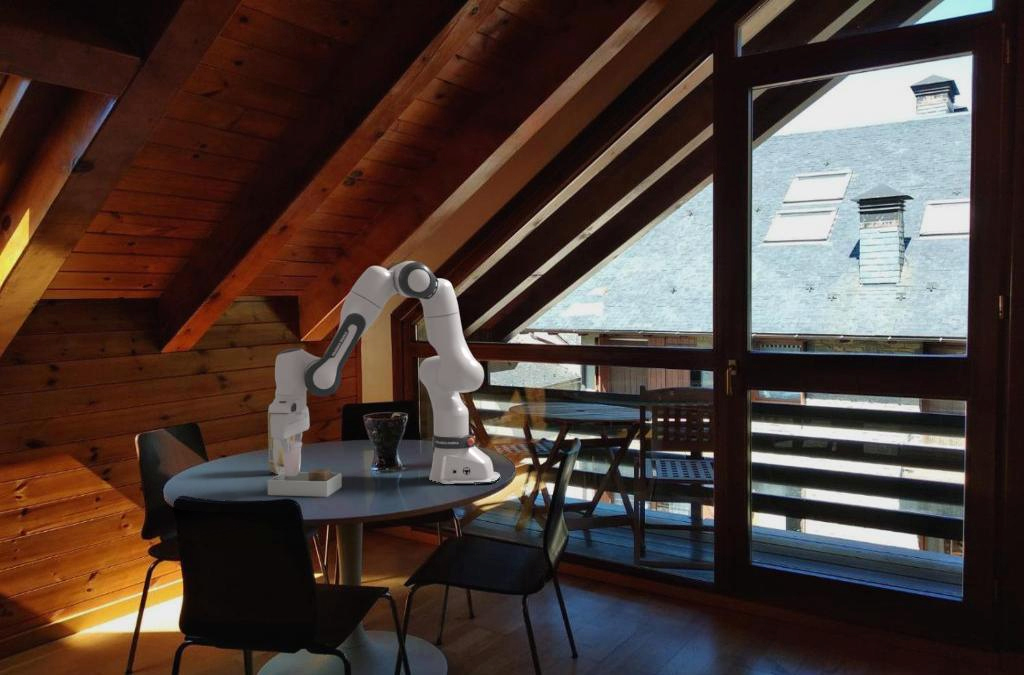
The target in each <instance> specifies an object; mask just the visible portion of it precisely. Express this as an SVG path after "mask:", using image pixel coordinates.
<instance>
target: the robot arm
mask: <svg viewBox="0 0 1024 675" xmlns="http://www.w3.org/2000/svg"><path fill="white" fill-rule="evenodd" d="M394 295H398V296H402V297H404V298H414V299H418V300H420V303H421V306H422V309H423V310H422V311H423V318H424V325H425V331H426V338H427V340H428V343H429V344H430V346H432V347H433V348H434V350H435V351H436V354H437V355H434V356H431V357H430V356H429V357H427V358H425V359H424V360H423V361H422V362H420V365H419V368H418V378H419V380H420V381H421V383H422V384H423V385H424V386H425V388H426V391H427V393H428V395H429V399H430V402H431V407H432V413H433V434H432V438H431V443H432V444H431V446H432V448H431V449H432V452H433V453H432V454H433V456H432V464H431V468H430V475H429V480H430V481H431V480H432V481H431V482H434V481H436V482H435V483H438V482H440V483H442V484H454V483H474V482H491V481H495V480H497V479H498V478H499V477H500V478H501V474H500V472H497V471H494V465H493V461H492V459H491V458H490V456H489V455H487V454H486V453H485V452H483V451H482V450H480V449H479V447H477V446H475V445H476V436H475V435H472V434H470V430H469V429H470V428H469V427H470V426H469V423H470V421H469V417H470V416H469V414H470V413H469V409H468V407H467V406H466V405H465V403H464V402H463V400H462V398H461V395H460V393H461V394H462V393H463V394H464V393H470V392H475V391H477V390H478V389H479V388H481V386H482V385H483V382H484V379H485V372H484V371H485V370H484V367H483V366H482V364H481V363H479V362H478V360H476V358H475V357H474V356H473V354H472V351H470V349H469V347H468V344H467V342H466V340H465V339H466V338H465V336H464V333H463V332H464V331H463V327H462V322H461V316H460V309H459V304H458V303H459V302H458V300H457V296H456V292H455V290H454V287H453V285H452V283H451V281H449V280H448V279H445V278H439V277H438V278H437V277H436V276H435V274H434V273H433V271H432V270H431V269H430V268H429V267H428V266H427V265H426V264H424V263H422V262H418V261H415V260H414V261H413V260H406V261H400V262H397V263H395V264H393V265H392V266H389V267H388V268H385V267H382V266H379V265H372V266H369V267H368V268H366V270H365V271H363V273H362V274H361V275H360V276H359V278H358V279H357V280H356V282H355V283H354V285H353V286H352V287H351V289H350V291H349V293H348V294H347V296H346V298H345V300H344V302H343V305H342V307H341V310H340V321H339V326H338V329H337V331H336V333H335V335H334V336H333V339H332V340H331V343H330V344H329V346H328V347H327V349H326V351H325V352H324V354H323V356H322V357H319V356H315V355H313V354H311V353H309V352H308V351H305V350H304V349H303V348H299V347H295V348H290V349H285V350H282V351H281V352H279V353H278V354H277V356H276V357H275V358H276V359H275V365H274V366H275V367H274V379H275V380H274V381H275V385H276V389H275V391H274V392H275V396H274V397H275V398H273V402H272V403H270V404H271V405H270V404H269V405H270V406H269V405H268V410H269V413H272V414H271V417H270V426H271V436H272V438H273V439H274V440H280V442H281V445H282V450H283V453H288V452H290V446H289V443H288V441H289V437H291V436H295V438H294V441H301V442H302V438H303V432H305V431H308V430H309V428H310V424H311V423H310V422H311V421H310V411H309V407H308V406H307V391H308V392H309V393H311V394H312V395H313V396H315V397H321V398H322V397H329V396H331V395H333V394H334V393H335V392H336V391H337V390H338V389H339V388H340V384H341V383H342V373H343V368H344V366H345V364H346V362H347V360H348V358H349V357H350V355H351V354H352V351H353V350H354V348H355V346H356V345H357V342H358V341H359V340H360V338H361V337H362V336H363V335H364V334H365V333H366V332H367V330H369V328H370V327H371V326H372V325H373V324H374V323H375V321H376V320H377V319H378V318H379V316H380V314H381V313H382V311H383V309H384V308H385V306H386V304H387V302H388V301H389V300H390V299H391V298H392V297H393V296H394ZM440 483H439V484H440ZM442 484H441V485H442Z"/></svg>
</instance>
